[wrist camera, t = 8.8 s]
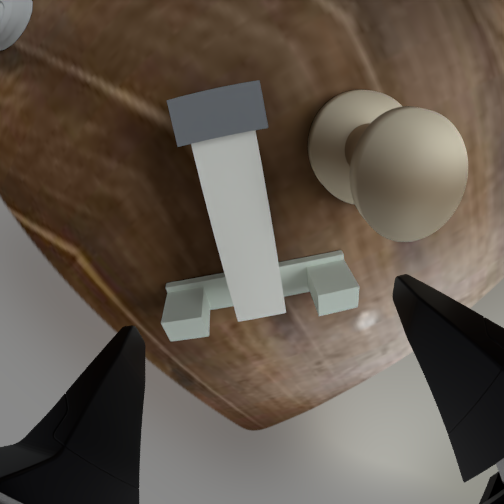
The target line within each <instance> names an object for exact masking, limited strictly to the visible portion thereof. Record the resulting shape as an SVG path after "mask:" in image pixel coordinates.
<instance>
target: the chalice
mask: <svg viewBox="0 0 504 504" xmlns="http://www.w3.org/2000/svg"><path fill="white" fill-rule="evenodd" d="M31 13H32V0H0V50H4V49H6V48H8V47H9V46H11V45H12V44H13V43H14V42H15V41H16V40H17V39H18V38H19V37H20V35H21V34H22V33H23V31H24V30H25V28H26V26H27V24H28V22H29V20H30V16H31Z"/></svg>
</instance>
